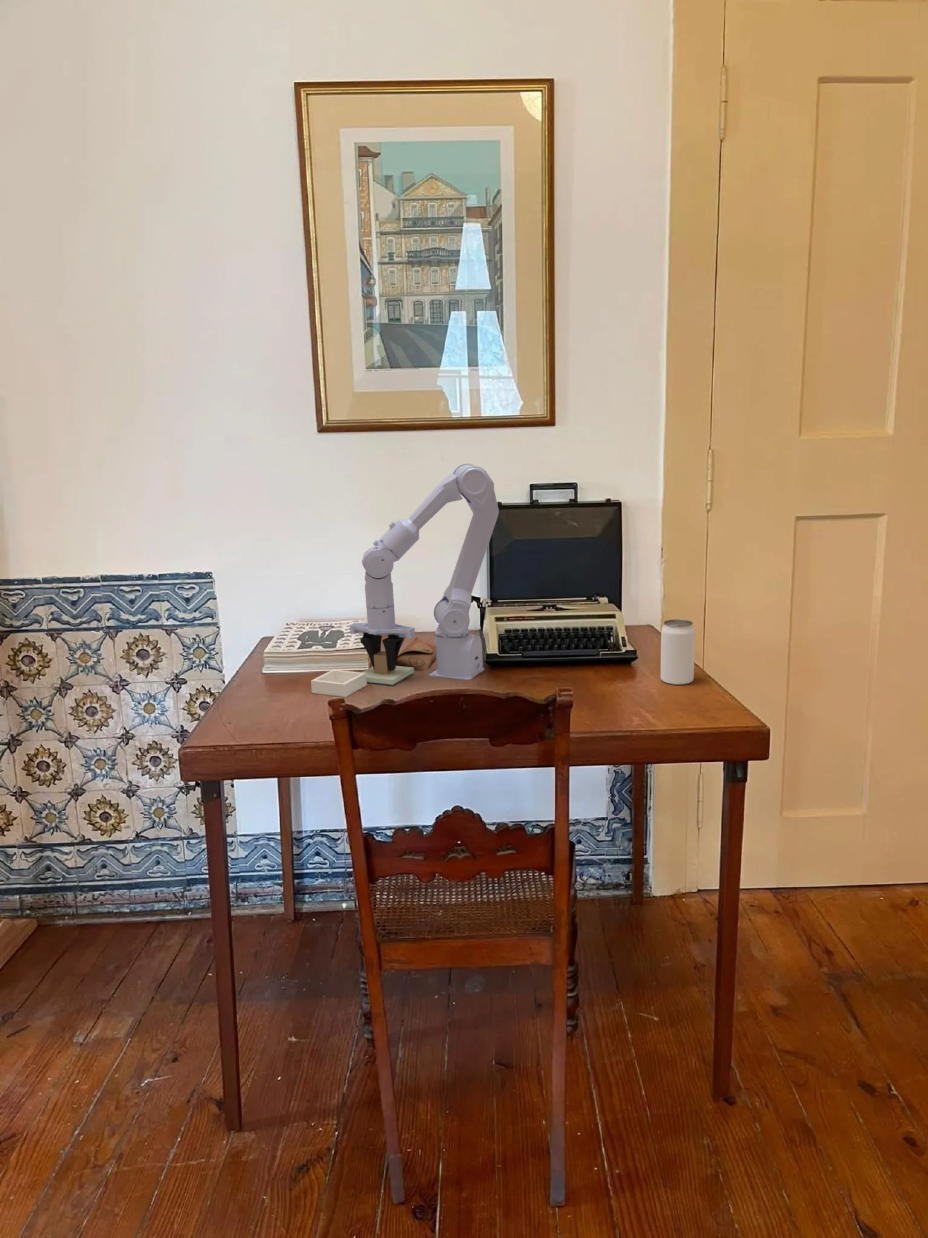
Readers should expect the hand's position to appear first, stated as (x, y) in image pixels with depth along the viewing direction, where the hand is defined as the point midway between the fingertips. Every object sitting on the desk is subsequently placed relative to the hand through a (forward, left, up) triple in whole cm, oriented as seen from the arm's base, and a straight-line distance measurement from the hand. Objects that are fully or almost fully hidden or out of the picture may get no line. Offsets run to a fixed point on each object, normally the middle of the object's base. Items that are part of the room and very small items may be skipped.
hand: (384, 668), depth 183 cm
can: (-57, -19, -3) cm, 60 cm away
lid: (0, 0, -2) cm, 2 cm away
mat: (0, 0, -2) cm, 2 cm away
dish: (+5, +10, -2) cm, 11 cm away
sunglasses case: (0, -15, -3) cm, 15 cm away
